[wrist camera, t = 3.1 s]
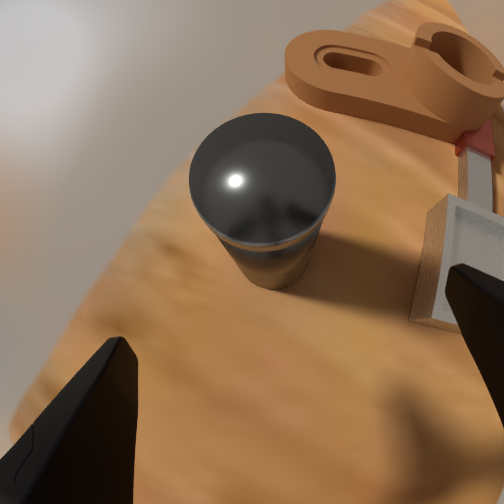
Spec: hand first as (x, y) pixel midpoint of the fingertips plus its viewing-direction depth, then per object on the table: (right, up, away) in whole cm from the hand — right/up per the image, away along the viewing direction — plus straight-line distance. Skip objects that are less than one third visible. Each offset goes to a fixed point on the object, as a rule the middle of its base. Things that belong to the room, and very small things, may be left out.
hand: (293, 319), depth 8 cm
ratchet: (+15, +5, +11) cm, 19 cm away
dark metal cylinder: (0, +1, +12) cm, 12 cm away
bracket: (+11, +15, +15) cm, 24 cm away
